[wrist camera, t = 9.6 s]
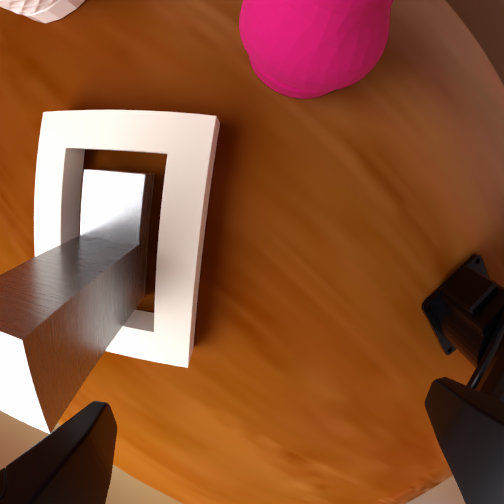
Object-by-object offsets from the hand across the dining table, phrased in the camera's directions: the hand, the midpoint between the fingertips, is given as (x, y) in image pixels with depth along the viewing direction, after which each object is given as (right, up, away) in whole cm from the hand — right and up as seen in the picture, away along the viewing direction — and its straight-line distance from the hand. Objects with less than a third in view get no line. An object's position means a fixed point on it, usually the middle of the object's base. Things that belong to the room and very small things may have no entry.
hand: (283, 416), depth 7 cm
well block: (-9, +5, +12) cm, 16 cm away
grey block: (-9, +5, +12) cm, 16 cm away
